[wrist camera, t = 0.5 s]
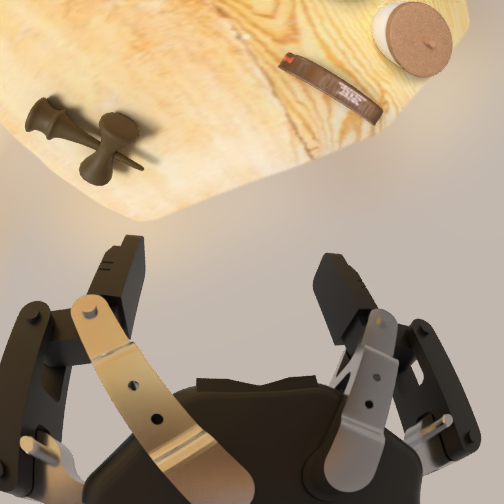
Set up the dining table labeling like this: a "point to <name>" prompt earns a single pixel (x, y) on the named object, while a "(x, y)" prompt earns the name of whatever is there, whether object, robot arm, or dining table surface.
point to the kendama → (87, 138)
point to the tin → (331, 86)
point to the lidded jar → (413, 37)
